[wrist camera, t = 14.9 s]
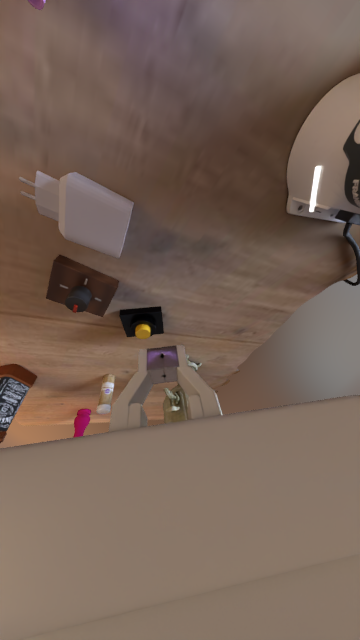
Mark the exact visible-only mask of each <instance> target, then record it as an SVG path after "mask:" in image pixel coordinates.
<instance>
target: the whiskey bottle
mask: <svg viewBox="0 0 360 640" xmlns="http://www.w3.org/2000/svg"><path fill="white" fill-rule="evenodd" d="M36 379H37V376H36V375H34V374H33V373H31V372H29V371H28V370H26V369H24V368H23V367H21V366H19V365H17V364H10V365H5V366H0V443H1V442H2V441H3V440H4V438H5V436H6V431H7V429H8V427H9V425H10V424H11V422H12V420H13V418H14V416H15V414H16V412H17V411H18V409H19V407H20V405H21V403H22V401H23V399H24V398H25V396H26V394H27V392H28V390H29V388H31V387H32V386H33V384H34V382H35V380H36Z"/></svg>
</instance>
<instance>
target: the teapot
mask: <svg viewBox="0 0 360 640" xmlns="http://www.w3.org/2000/svg"><path fill="white" fill-rule="evenodd" d="M28 1H29V3H30V4H31V5H32V6H33V7H35V8H36V9H38V10H41V9H43V7H44V4H45V0H28Z"/></svg>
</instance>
